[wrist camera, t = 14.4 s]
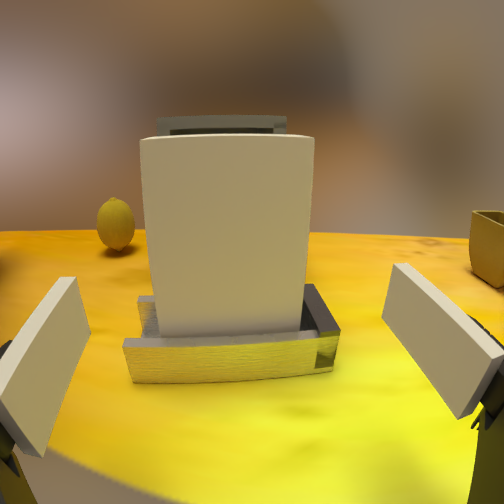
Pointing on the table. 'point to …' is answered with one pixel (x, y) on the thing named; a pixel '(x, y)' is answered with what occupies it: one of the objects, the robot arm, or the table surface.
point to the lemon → (115, 224)
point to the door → (227, 231)
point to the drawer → (234, 349)
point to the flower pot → (487, 246)
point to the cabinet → (221, 125)
